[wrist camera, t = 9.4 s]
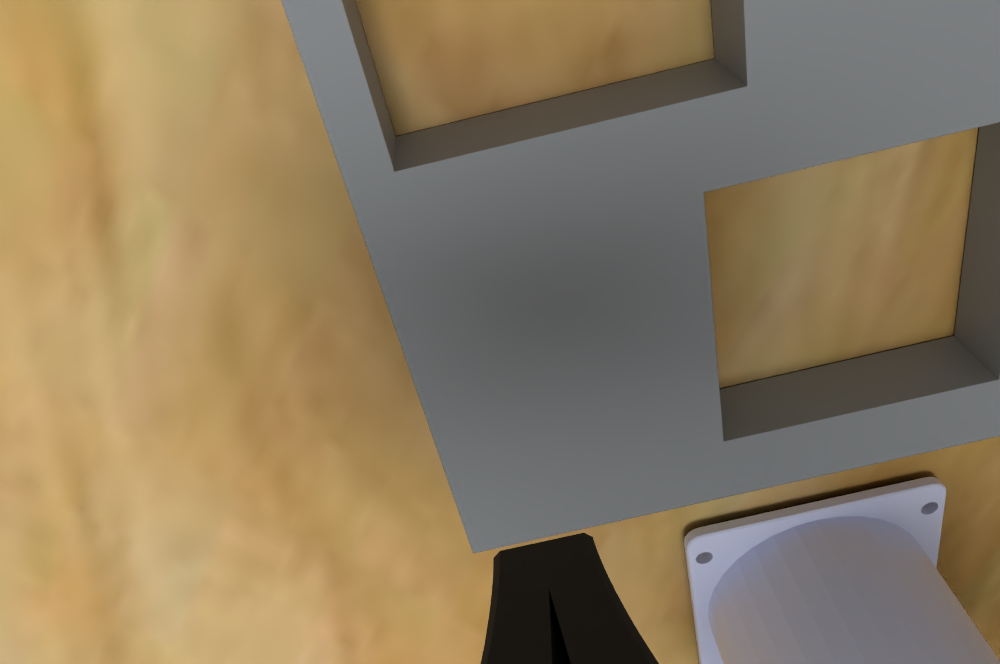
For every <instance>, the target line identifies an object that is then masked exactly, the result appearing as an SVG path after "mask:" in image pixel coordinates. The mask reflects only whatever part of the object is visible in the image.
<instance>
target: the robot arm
mask: <svg viewBox="0 0 1000 664" xmlns="http://www.w3.org/2000/svg"><path fill="white" fill-rule="evenodd" d="M945 500H946V488H945V486H944V485H943V484H942V483H941V481H940V480H939V479H938V478H935V477H924V478H920V479H915V480H911V481H906V482H902V483H897V484H893V485H888V486H884V487H879V488H875V489H870V490H866V491H861V492H857V493H852V494H848V495H843V496H838V497H834V498H829V499H825V500H820V501H816V502H811V503H807V504H802V505H798V506H793V507H789V508H784V509H780V510H775V511H771V512H766V513H762V514H757V515H753V516H748V517H744V518H739V519H735V520H730V521H726V522H721V523H717V524H712V525H708V526H703V527H699V528H696V529H693V530H691V531H690V532H689V533H688V534H687V535H686V536H685V538H684V547H685V555H686V563H687V571H688V578H689V586H690V594H691V602H692V610H693V617H694V625H695V633H696V641H697V649H698V656H699V664H1000V660H999V659H998V657H997V656H996V655H995V653H994V652H993V650H992V649H991V647H990V646H989V644H988V643H987V641H986V640H985V639H984V637H983V636H982V634H981V633H980V631H979V630H978V628H977V627H976V625H975V624H974V623H973V621H972V620H971V618H970V617H969V615H968V614H967V612H966V611H965V609H964V608H963V607H962V605H961V604H960V602H959V601H958V599H957V598H956V596H955V595H954V594H953V592H952V591H951V589H950V588H949V586H948V585H947V583H946V582H945V580H944V579H943V578H942V576H941V575H940V573H939V572H938V570H937V569H936V568H937V560H938V552H939V545H940V537H941V530H942V522H943V515H944V507H945ZM703 552H704V553H703ZM701 553H702V554H701ZM481 664H659V663H658V662H657V660H656V659H655V657H654V656H653V654H652V652H651V651H650V649H649V648H648V646H647V645H646V643H645V641H644V640H643V638H642V637H641V635H640V634H639V632H638V630H637V629H636V627H635V625H634V624H633V622H632V620H631V618H630V617H629V615H628V613H627V611H626V610H625V608H624V606H623V604H622V602H621V600H620V599H619V597H618V595H617V593H616V591H615V589H614V587H613V585H612V583H611V581H610V579H609V577H608V575H607V573H606V571H605V569H604V566H603V564H602V562H601V559H600V557H599V554H598V552H597V549H596V546H595V543H594V540H593V537H591V536H589V535H587V534H585V533H581V534H576V535H572V536H567V537H563V538H558V539H553V540H549V541H544V542H540V543H535V544H530V545H526V546H521V547H516V548H512V549H507V550H503V551H500V552H499V553H498V554H497V555H496V556H495V557H494V570H493V586H492V597H491V606H490V614H489V620H488V627H487V633H486V640H485V646H484V651H483V655H482V660H481Z"/></svg>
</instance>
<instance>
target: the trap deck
mask: <svg viewBox="0 0 1000 664" xmlns="http://www.w3.org/2000/svg"><path fill="white" fill-rule="evenodd" d="M281 1H282V4H283V7H284V10H285V13H286V15H287V18H288V21H289V24H290V27H291V30H292V33H293V36H294V38H295V41H296V44H297V47H298V50H299V53H300V56H301V59H302V62H303V64H304V67H305V70H306V73H307V76H308V79H309V82H310V85H311V87H312V90H313V93H314V96H315V99H316V102H317V105H318V108H319V111H320V113H321V116H322V119H323V122H324V125H325V128H326V131H327V134H328V136H329V139H330V142H331V145H332V148H333V151H334V154H335V157H336V160H337V162H338V165H339V168H340V171H341V174H342V177H343V180H344V183H345V185H346V188H347V191H348V194H349V197H350V200H351V203H352V206H353V209H354V211H355V214H356V217H357V220H358V223H359V226H360V229H361V232H362V234H363V237H364V240H365V243H366V246H367V249H368V252H369V255H370V258H371V260H372V263H373V266H374V269H375V272H376V275H377V278H378V281H379V283H380V286H381V289H382V292H383V295H384V298H385V301H386V304H387V307H388V309H389V312H390V315H391V318H392V321H393V324H394V327H395V330H396V332H397V335H398V338H399V341H400V344H401V347H402V350H403V353H404V356H405V358H406V361H407V364H408V367H409V370H410V373H411V376H412V379H413V382H414V384H415V387H416V390H417V393H418V396H419V399H420V402H421V405H422V407H423V410H424V413H425V416H426V419H427V422H428V425H429V428H430V431H431V433H432V436H433V439H434V442H435V445H436V448H437V451H438V454H439V456H440V459H441V462H442V465H443V468H444V471H445V474H446V477H447V480H448V482H449V485H450V488H451V491H452V494H453V497H454V500H455V503H456V505H457V508H458V511H459V514H460V517H461V520H462V523H463V526H464V529H465V531H466V534H467V537H468V540H469V543H470V546H471V549H472V552H473V553H477V552H482V551H486V550H491V549H495V548H500V547H504V546H509V545H513V544H518V543H522V542H527V541H531V540H536V539H540V538H545V537H549V536H553V535H558V534H562V533H567V532H571V531H576V530H580V529H585V528H589V527H594V526H598V525H603V524H607V523H612V522H616V521H621V520H625V519H630V518H634V517H639V516H643V515H648V514H652V513H657V512H661V511H666V510H670V509H675V508H679V507H684V506H688V505H693V504H697V503H702V502H706V501H711V500H715V499H720V498H724V497H728V496H733V495H737V494H742V493H746V492H751V491H755V490H760V489H764V488H769V487H773V486H778V485H782V484H787V483H791V482H796V481H800V480H805V479H809V478H814V477H818V476H823V475H827V474H832V473H836V472H841V471H845V470H850V469H854V468H859V467H863V466H868V465H872V464H877V463H881V462H886V461H890V460H895V459H899V458H904V457H908V456H912V455H917V454H921V453H926V452H930V451H935V450H939V449H944V448H948V447H953V446H957V445H962V444H966V443H971V442H975V441H980V440H984V439H989V438H993V437H998V436H1000V0H711V10H712V25H713V40H714V56H715V59H712V60H708V61H704V62H699V63H695V64H691V65H687V66H683V67H679V68H675V69H671V70H667V71H663V72H658V73H654V74H650V75H646V76H642V77H638V78H634V79H630V80H626V81H622V82H617V83H613V84H609V85H605V86H601V87H597V88H593V89H589V90H585V91H581V92H576V93H572V94H568V95H564V96H560V97H556V98H552V99H548V100H544V101H540V102H535V103H531V104H527V105H523V106H519V107H515V108H511V109H507V110H503V111H499V112H494V113H490V114H486V115H482V116H478V117H474V118H470V119H466V120H462V121H458V122H453V123H449V124H445V125H441V126H437V127H433V128H429V129H425V130H421V131H417V132H412V133H408V134H404V135H400V136H395V133H394V129H393V126H392V123H391V119H390V116H389V113H388V109H387V106H386V102H385V99H384V96H383V92H382V89H381V86H380V82H379V79H378V76H377V72H376V69H375V66H374V62H373V59H372V56H371V52H370V49H369V46H368V42H367V39H366V35H365V32H364V29H363V25H362V22H361V19H360V15H359V12H358V9H357V5H356V2H355V0H281ZM977 127H979V135H978V143H977V151H976V160H975V168H974V176H973V184H972V192H971V201H970V209H969V217H968V225H967V234H966V242H965V250H964V258H963V267H962V275H961V283H960V291H959V299H958V308H957V316H956V324H955V332H954V336H951V337H947V338H942V339H938V340H933V341H929V342H925V343H920V344H916V345H911V346H907V347H903V348H898V349H894V350H890V351H885V352H881V353H876V354H872V355H868V356H863V357H859V358H854V359H850V360H846V361H841V362H837V363H833V364H828V365H824V366H819V367H815V368H811V369H806V370H802V371H797V372H793V373H789V374H784V375H780V376H776V377H771V378H767V379H762V380H758V381H754V382H749V383H745V384H740V385H736V386H732V387H727V388H723V389H719V378H718V365H717V353H716V340H715V328H714V315H713V302H712V290H711V277H710V265H709V252H708V240H707V227H706V214H705V202H704V192H708V191H712V190H716V189H720V188H725V187H729V186H733V185H737V184H741V183H746V182H750V181H754V180H758V179H763V178H767V177H771V176H775V175H779V174H784V173H788V172H792V171H796V170H800V169H805V168H809V167H813V166H817V165H821V164H826V163H830V162H834V161H838V160H843V159H847V158H851V157H855V156H859V155H864V154H868V153H872V152H876V151H880V150H885V149H889V148H893V147H897V146H901V145H906V144H910V143H914V142H918V141H922V140H927V139H931V138H935V137H939V136H944V135H948V134H952V133H956V132H960V131H965V130H969V129H973V128H977Z"/></svg>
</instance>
